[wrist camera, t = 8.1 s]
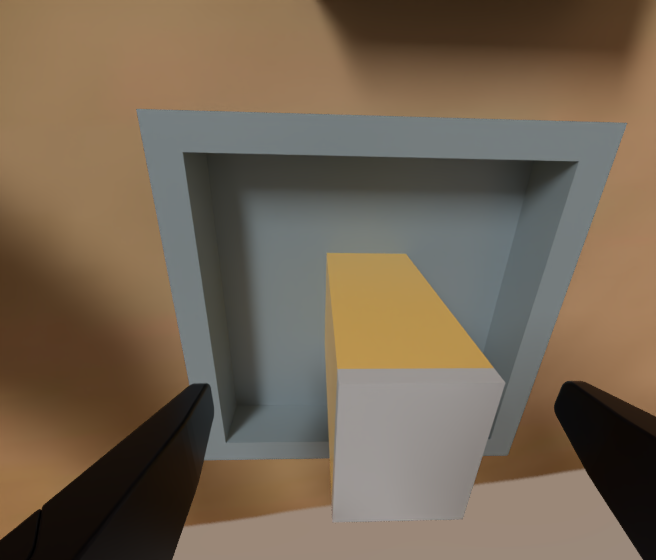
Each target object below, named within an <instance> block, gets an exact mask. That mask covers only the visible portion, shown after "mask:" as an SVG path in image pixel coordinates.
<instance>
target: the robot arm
mask: <svg viewBox="0 0 656 560" xmlns="http://www.w3.org/2000/svg"><path fill="white" fill-rule="evenodd" d="M554 410H555V414H556V416H557V418H558V420H559V422H560V424H561V425H562V427H563V429H564V431H565V433H566V435H567V437H568V438H569V440H570V442H571V444H572V446H573V448H574V450H575V451H576V453H577V455H578V457H579V459H580V461H581V463H582V465H583V466H584V468H585V470H586V472H587V473H588V475H589V477H590V478H591V480H592V481H593V483H594V485H595V486H596V488H597V489H598V491H599V492H600V494H601V496H602V497H603V499H604V500H605V502H606V503H607V505H608V506H609V508H610V510H611V511H612V512H613V514H614V516H615V517H616V519H617V520H618V522H619V523H620V525H621V526H622V528H623V530H624V531H625V532H626V534H627V536H628V537H629V539H630V540H631V542H632V543H633V545H634V547H635V548H636V549H637V551H638V553H639V554H640V556H641V557H642V559H643V560H656V417H655V416H653V415H651V414H649V413H647V412H645V411H643V410H641V409H639V408H637V407H635V406H633V405H631V404H629V403H627V402H625V401H623V400H621V399H619V398H617V397H615V396H613V395H611V394H609V393H607V392H604V391H602V390H600V389H598V388H596V387H594V386H592V385H590V384H588V383H586V382H583V381H567V382H565V383H564V384H563V385H562V387H561V390H560V392H559V395H558V397H557V399H556V402H555V405H554ZM213 418H214V404H213V397H212V391H211V387H210V385H209V384H208V383H194V384H191V385H189V386H188V387H187V388H186V389H185V390H183V391H182V392H181V393H180V394H178V395H177V396H176V397H175V398H174V399H172V400H171V401H170V402H169V403H167V404H166V405H165V406H164V407H163V408H161V409H160V410H159V411H158V412H156V413H155V414H154V415H153V416H152V417H150V418H149V419H148V420H147V421H146V422H144V423H143V424H142V425H141V426H139V427H138V428H137V429H136V430H135V431H133V432H132V433H131V434H130V435H128V436H127V437H126V438H125V439H124V440H122V441H121V442H120V443H119V444H117V445H116V446H115V447H114V448H113V449H111V450H110V451H109V452H108V453H106V454H105V455H104V456H103V457H102V458H100V459H99V460H98V461H97V462H95V463H94V464H93V465H92V466H91V467H89V468H88V469H87V470H86V471H84V472H83V473H82V474H81V475H80V476H78V477H77V478H76V479H75V480H74V481H72V482H71V483H70V484H69V485H67V486H66V487H65V488H64V489H63V490H61V491H60V492H59V493H58V494H56V495H55V496H54V497H53V498H52V499H50V500H49V501H48V502H47V503H45V504H44V505H43V507H42V510H41V509H39V510H37V511H35V512H34V513H33V514H32V515H31V516H29V517H28V518H27V519H26V520H24V521H23V522H22V523H21V524H20V525H18V526H17V527H16V528H15V529H13V530H12V531H11V532H10V533H8V534H7V535H6V536H5V537H3V538H2V539H1V540H0V560H172V558H173V556H174V553H175V550H176V547H177V544H178V541H179V538H180V535H181V533H182V530H183V527H184V524H185V521H186V518H187V515H188V512H189V509H190V506H191V503H192V501H193V498H194V495H195V492H196V488H197V485H198V482H199V478H200V474H201V470H202V466H203V462H204V457H205V453H206V449H207V444H208V440H209V436H210V431H211V427H212V423H213Z"/></svg>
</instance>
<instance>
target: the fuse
mask: <svg viewBox="0 0 656 560" xmlns="http://www.w3.org/2000/svg"><path fill="white" fill-rule="evenodd" d="M325 363H326V386H327V409H328V432H329V455H330V479H331V502H332V522H367V521H368V522H372V521H410V520H411V521H413V520H452V519H453V520H454V519H463V517H464V513H465V510H466V507H467V504H468V500H469V498H470V494H471V491H472V488H473V485H474V482H475V478H476V475H477V472H478V469H479V466H480V462H481V459H482V456H483V453H484V450H485V446H486V443H487V440H488V437H489V434H490V430H491V427H492V424H493V421H494V418H495V414H496V411H497V408H498V405H499V402H500V398H501V395H502V392H503V389H504V386H505V382H504V380H503V379H502V378H501V376H500V375H499V374H498V373H497V371H496V370H495V369H494V367H493V366H492V365H491V363H490V362H489V361H488V360H487V358H486V357H485V356H484V354H483V353H482V352H481V350H480V349H479V348H478V347H477V345H476V344H475V343H474V341H473V340H472V339H471V338H470V336H469V335H468V334H467V332H466V331H465V330H464V328H463V327H462V326H461V325H460V323H459V322H458V321H457V319H456V318H455V317H454V315H453V314H452V313H451V312H450V310H449V309H448V308H447V306H446V305H445V304H444V302H443V301H442V300H441V299H440V297H439V296H438V295H437V293H436V292H435V291H434V289H433V288H432V287H431V286H430V284H429V283H428V282H427V280H426V279H425V278H424V276H423V275H422V274H421V273H420V271H419V270H418V269H417V267H416V266H415V265H414V264H413V262H412V261H411V260H410V258H409V257H408V256H407V254H387V253H327V257H326V303H325Z"/></svg>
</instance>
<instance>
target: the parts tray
mask: <svg viewBox="0 0 656 560" xmlns="http://www.w3.org/2000/svg"><path fill="white" fill-rule="evenodd" d="M136 110H137V115H138V120H139V126H140V131H141V136H142V141H143V146H144V151H145V157H146V162H147V167H148V172H149V177H150V183H151V188H152V193H153V198H154V203H155V209H156V214H157V219H158V224H159V229H160V234H161V240H162V245H163V250H164V255H165V260H166V266H167V271H168V276H169V281H170V286H171V292H172V297H173V302H174V307H175V312H176V317H177V323H178V328H179V333H180V338H181V343H182V349H183V354H184V359H185V364H186V369H187V375H188V380H189V385H191V384H194V383H208V384H209V385H210V387H211V391H212V397H213V404H214V418H213V423H212V427H211V431H210V436H209V440H208V444H207V449H206V453H205V457H204V460H248V459H312V458H330V455H329V432H328V409H327V386H326V363H325V303H326V257H327V253H387V254H407V256H408V257H409V258H410V260H411V261H412V262H413V264H414V265H415V266H416V267H417V269H418V270H419V271H420V273H421V274H422V275H423V276H424V278H425V279H426V280H427V282H428V283H429V284H430V286H431V287H432V288H433V289H434V291H435V292H436V293H437V295H438V296H439V297H440V299H441V300H442V301H443V302H444V304H445V305H446V306H447V308H448V309H449V310H450V312H451V313H452V314H453V315H454V317H455V318H456V319H457V321H458V322H459V323H460V325H461V326H462V327H463V328H464V330H465V331H466V332H467V334H468V335H469V336H470V338H471V339H472V340H473V341H474V343H475V344H476V345H477V347H478V348H479V349H480V350H481V352H482V353H483V354H484V356H485V357H486V358H487V360H488V361H489V362H490V363H491V365H492V366H493V367H494V369H495V370H496V371H497V373H498V374H499V375H500V376H501V378H502V379H503V380H504V382H505V386H504V389H503V392H502V395H501V398H500V402H499V405H498V408H497V411H496V414H495V418H494V421H493V424H492V427H491V430H490V434H489V437H488V440H487V443H486V446H485V450H484V453H483V456H506V455H508V453H509V450H510V448H511V445H512V442H513V439H514V437H515V434H516V431H517V428H518V425H519V423H520V420H521V417H522V414H523V412H524V409H525V406H526V403H527V400H528V398H529V395H530V392H531V389H532V386H533V384H534V381H535V378H536V375H537V373H538V370H539V367H540V364H541V361H542V359H543V356H544V353H545V350H546V348H547V345H548V342H549V339H550V336H551V334H552V331H553V328H554V325H555V322H556V320H557V317H558V314H559V311H560V309H561V306H562V303H563V300H564V297H565V295H566V292H567V289H568V286H569V284H570V281H571V278H572V275H573V272H574V270H575V267H576V264H577V261H578V258H579V256H580V253H581V250H582V247H583V245H584V242H585V239H586V236H587V233H588V231H589V228H590V225H591V222H592V220H593V217H594V214H595V211H596V208H597V206H598V203H599V200H600V197H601V194H602V192H603V189H604V186H605V183H606V181H607V178H608V175H609V172H610V169H611V167H612V164H613V161H614V158H615V156H616V153H617V150H618V147H619V144H620V142H621V139H622V136H623V133H624V130H625V128H626V125H627V123H611V122H576V121H541V120H505V119H470V118H435V117H400V116H365V115H329V114H294V113H259V112H224V111H189V110H153V109H136Z"/></svg>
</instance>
